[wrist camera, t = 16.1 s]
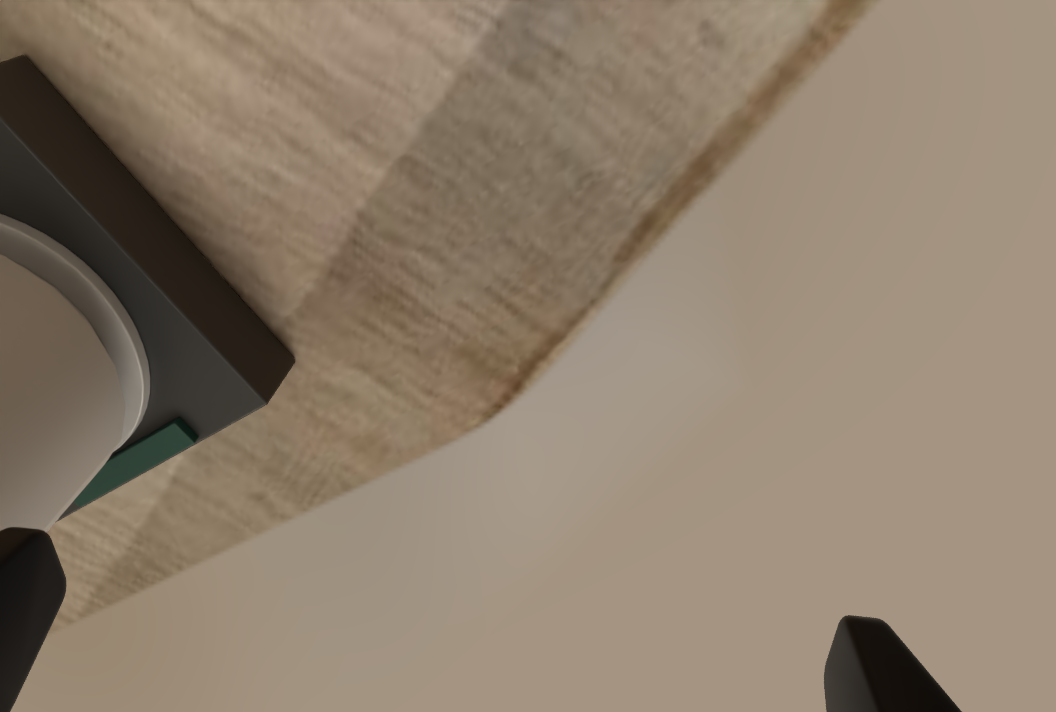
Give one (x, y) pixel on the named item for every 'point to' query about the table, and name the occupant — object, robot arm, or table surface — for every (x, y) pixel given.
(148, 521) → the table surface
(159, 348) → the scale
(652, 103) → the table surface
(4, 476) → the can
